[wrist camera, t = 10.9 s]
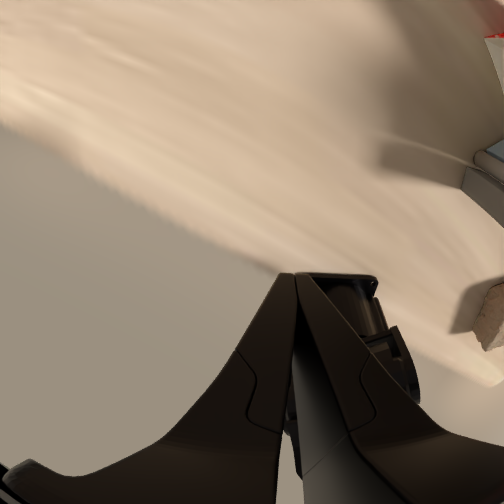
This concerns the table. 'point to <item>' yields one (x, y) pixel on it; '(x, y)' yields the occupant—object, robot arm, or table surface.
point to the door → (492, 161)
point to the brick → (491, 320)
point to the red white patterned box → (497, 54)
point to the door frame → (485, 192)
